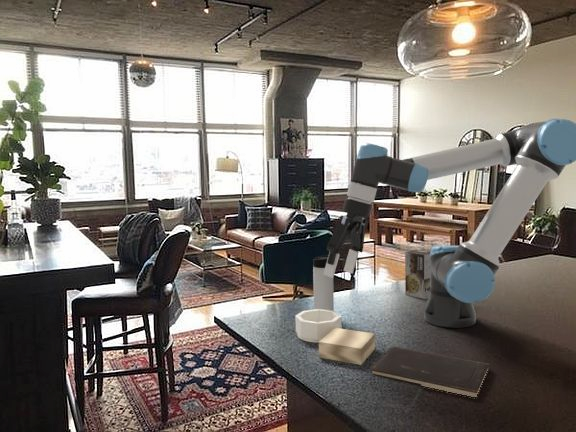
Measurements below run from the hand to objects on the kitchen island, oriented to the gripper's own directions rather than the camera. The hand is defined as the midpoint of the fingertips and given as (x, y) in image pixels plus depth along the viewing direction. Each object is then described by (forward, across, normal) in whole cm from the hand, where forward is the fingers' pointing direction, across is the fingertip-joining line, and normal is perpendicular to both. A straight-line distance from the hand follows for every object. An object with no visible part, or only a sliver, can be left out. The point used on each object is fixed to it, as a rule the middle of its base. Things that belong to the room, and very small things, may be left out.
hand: (338, 274), depth 133 cm
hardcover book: (+13, +10, +32) cm, 36 cm away
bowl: (+19, 0, -1) cm, 19 cm away
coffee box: (+9, -53, +12) cm, 55 cm away
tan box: (+16, +9, +12) cm, 22 cm away
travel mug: (+18, -16, -7) cm, 25 cm away
